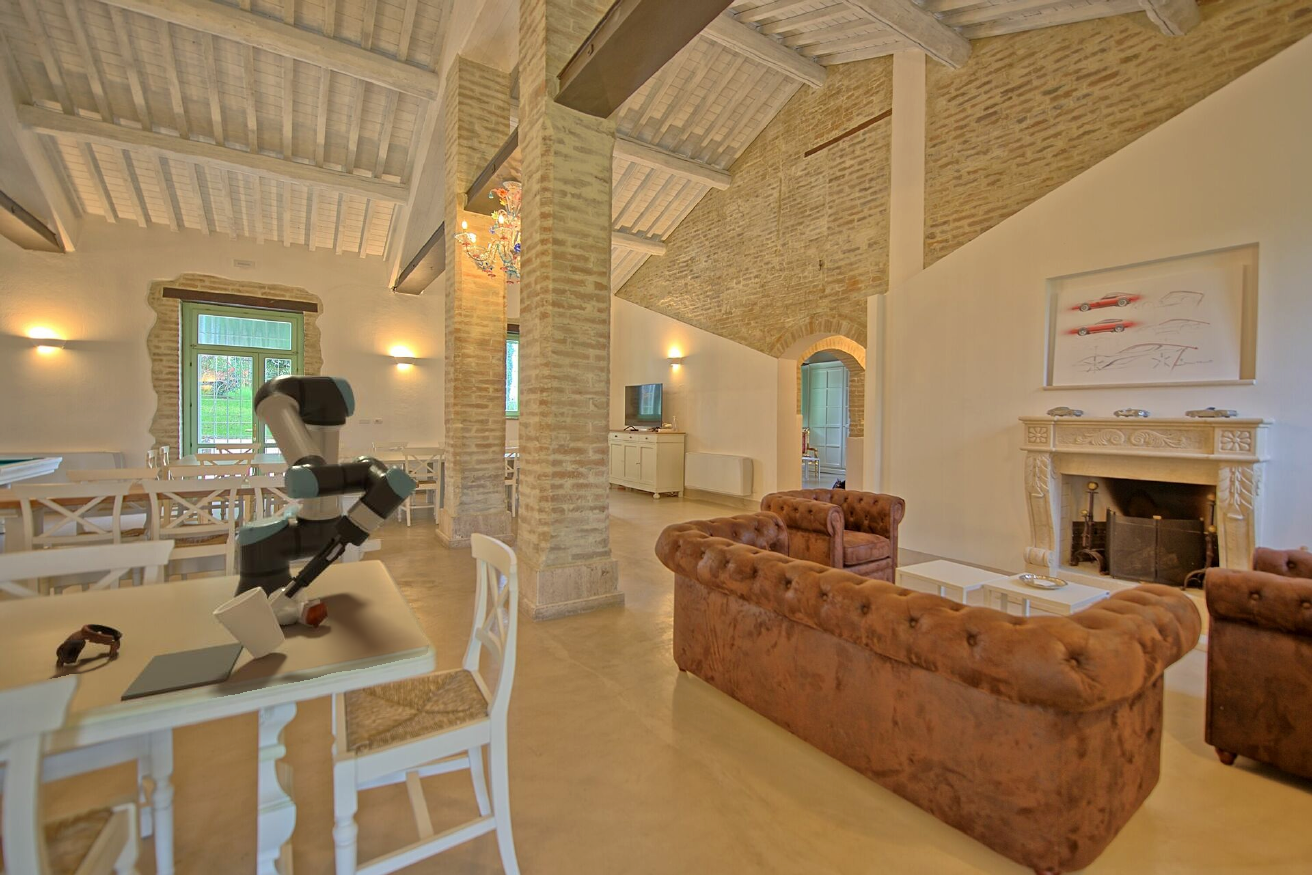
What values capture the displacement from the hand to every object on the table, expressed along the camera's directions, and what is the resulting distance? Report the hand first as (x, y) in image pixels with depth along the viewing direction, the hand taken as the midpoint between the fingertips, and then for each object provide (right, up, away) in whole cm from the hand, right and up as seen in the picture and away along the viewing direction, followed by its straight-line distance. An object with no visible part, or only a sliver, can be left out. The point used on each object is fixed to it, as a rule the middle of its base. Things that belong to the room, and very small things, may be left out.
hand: (275, 607), depth 125 cm
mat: (-14, -11, -6) cm, 19 cm away
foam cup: (-2, -10, +1) cm, 10 cm away
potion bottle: (-8, -10, +19) cm, 23 cm away
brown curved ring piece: (-41, -12, -1) cm, 42 cm away
